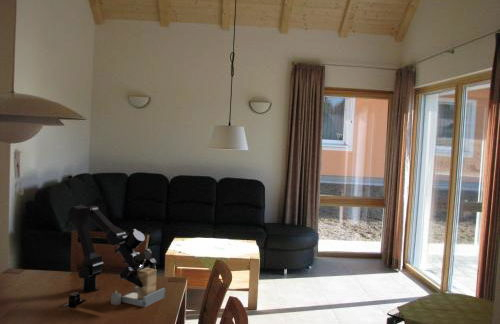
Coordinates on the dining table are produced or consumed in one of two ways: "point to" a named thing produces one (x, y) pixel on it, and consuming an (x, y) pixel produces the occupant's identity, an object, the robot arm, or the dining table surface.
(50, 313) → the dining table surface
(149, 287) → the tan wooden block
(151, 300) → the bay
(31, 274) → the dining table surface
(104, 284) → the dining table surface
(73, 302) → the black chunky block
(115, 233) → the robot arm
